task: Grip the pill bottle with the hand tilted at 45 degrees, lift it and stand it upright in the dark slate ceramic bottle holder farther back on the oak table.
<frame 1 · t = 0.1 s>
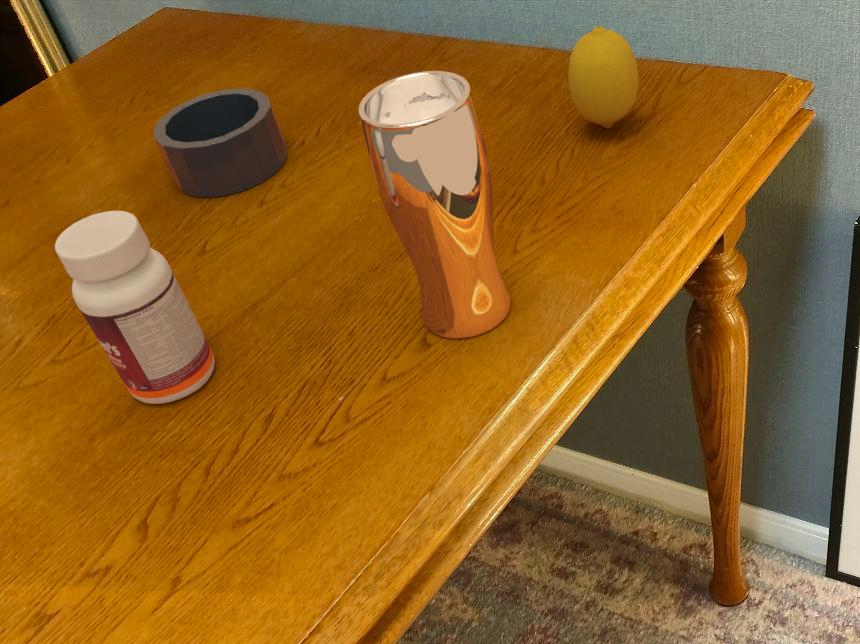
beer glass: (467, 313, 69), on the table
pill bottle: (175, 379, 69), on the table
holder: (232, 166, 88), on the table
lemon: (608, 129, 82), on the table
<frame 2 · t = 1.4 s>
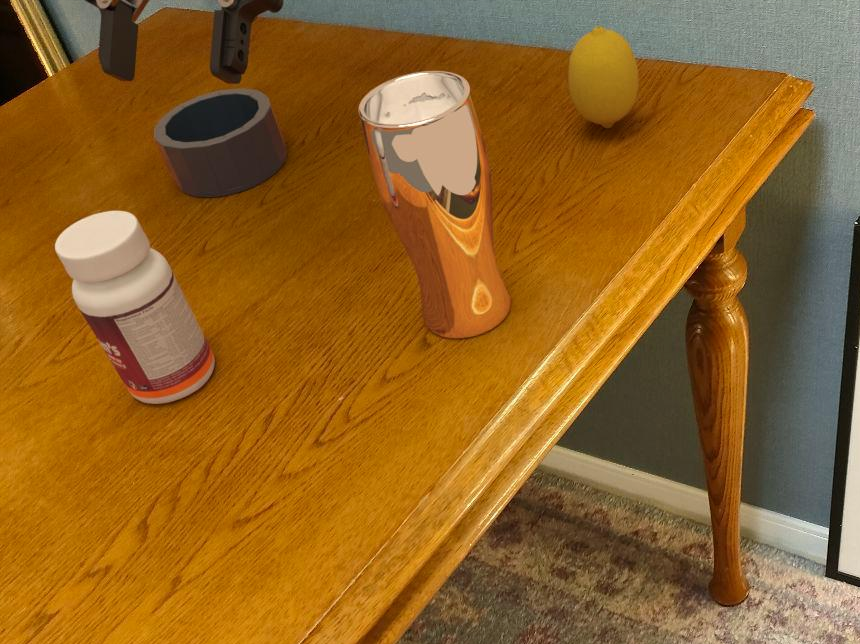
hand: (170, 78, 64), 15 cm above the table, tool tilted 45°, fingers open, 8 cm apart
nothing on the table moved.
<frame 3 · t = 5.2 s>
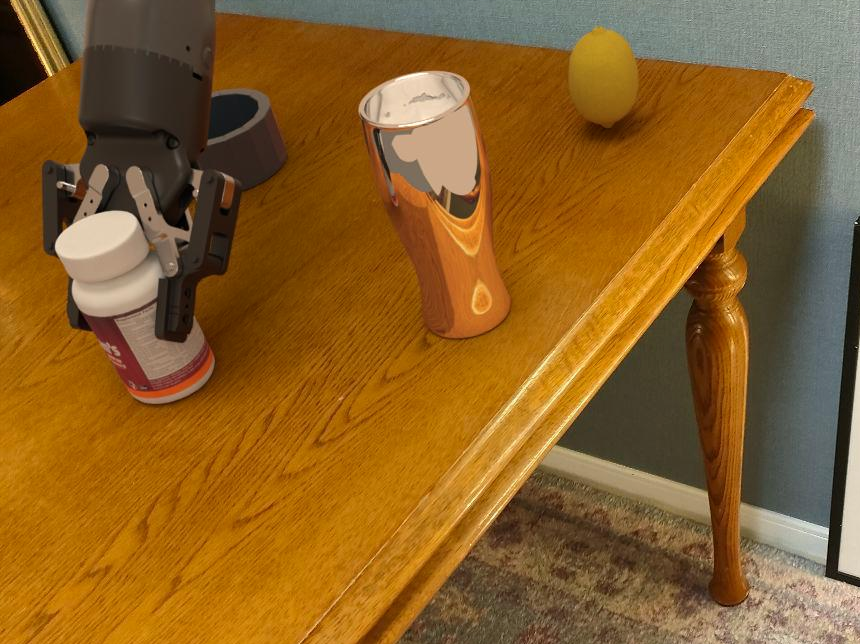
hand: (127, 335, 64), 5 cm above the table, tool tilted 45°, fingers closed on pill bottle, 6 cm apart
pill bottle: (175, 379, 69), on the table, touching gripper
everything else where it was.
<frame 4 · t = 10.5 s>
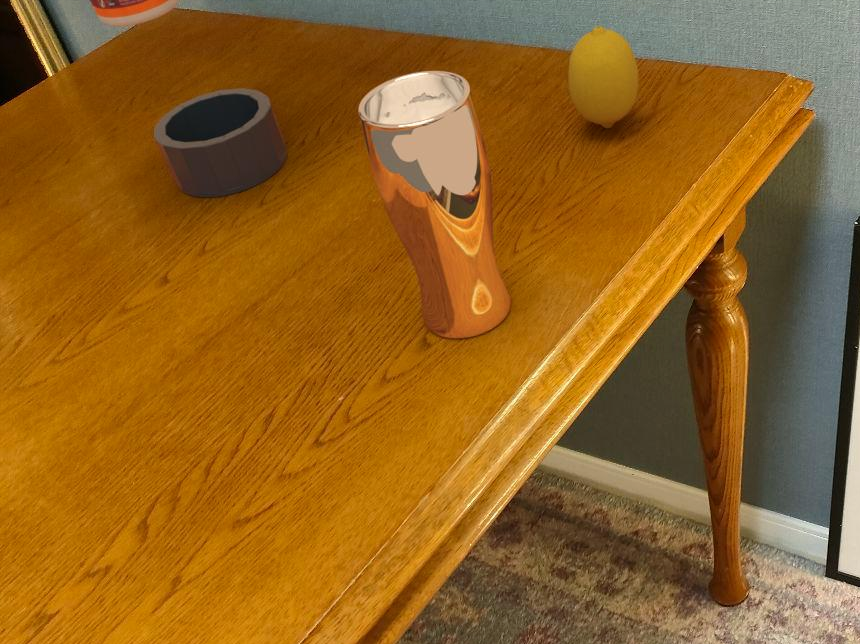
pill bottle: (143, 13, 73), point 15 cm above the table, touching gripper
everything else where it was.
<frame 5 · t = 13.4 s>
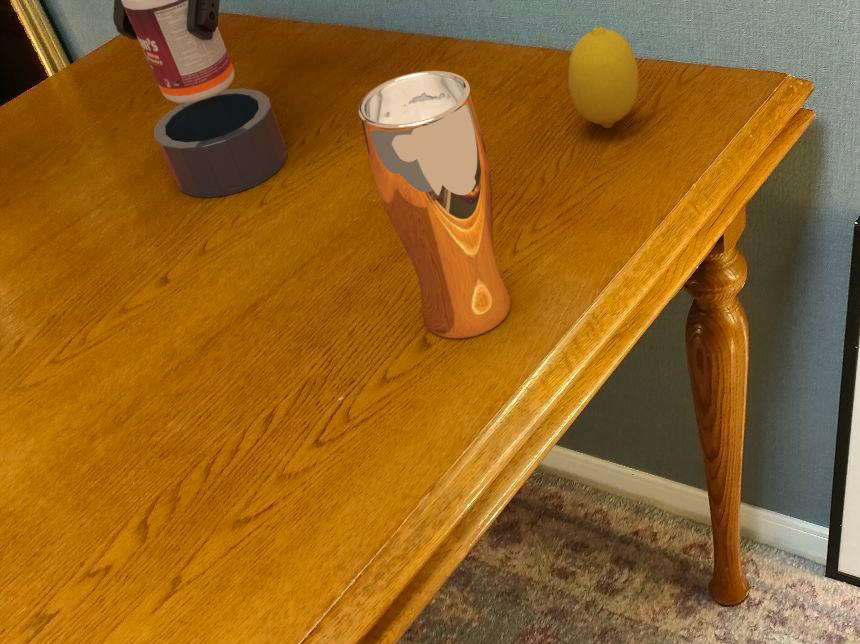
hand: (164, 35, 78), 12 cm above the table, tool tilted 45°, fingers closed on pill bottle, 6 cm apart
pill bottle: (201, 89, 83), point 7 cm above the table, touching gripper
everything else where it was.
when the fingers open (5 cm above the table, at t = 15.8 s): pill bottle stays where it is, resting on holder.
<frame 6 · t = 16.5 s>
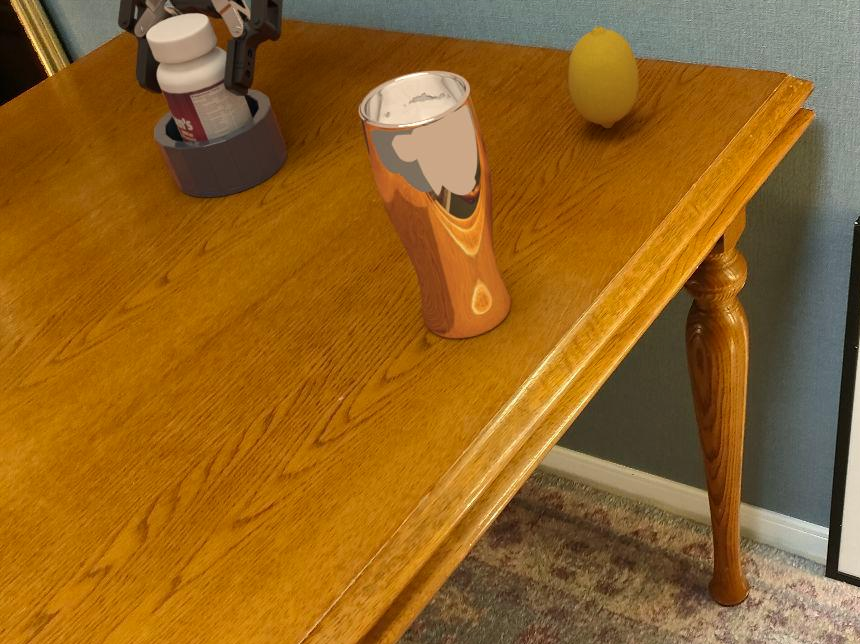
hand: (192, 91, 82), 7 cm above the table, tool tilted 45°, fingers open, 8 cm apart
pill bottle: (231, 162, 88), resting on holder
everything else where it was.
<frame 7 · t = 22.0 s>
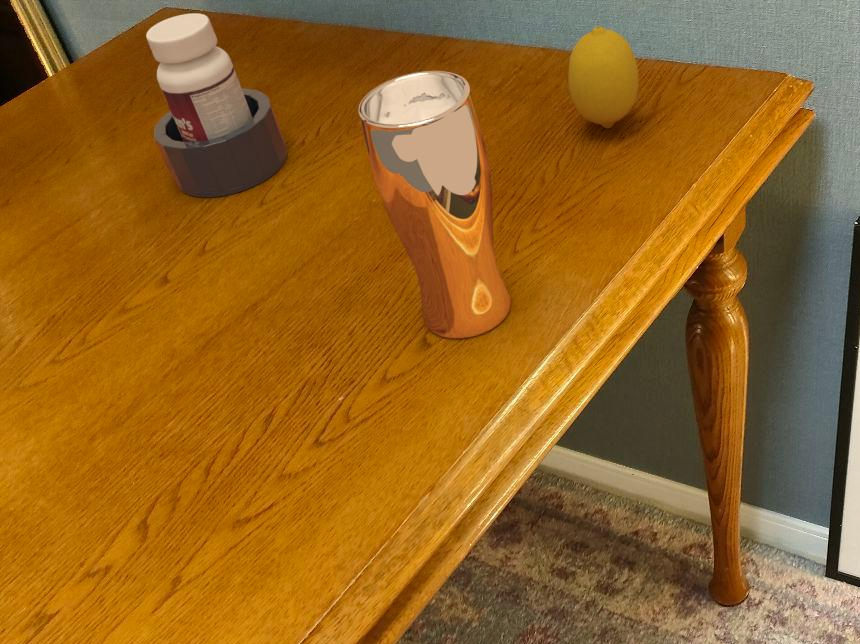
nothing on the table moved.
at the end: pill bottle 0.2 cm off-centre in the holder, point 0.3 cm above the holder's base; pill bottle tilted 0°; the gripper is holding nothing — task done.
